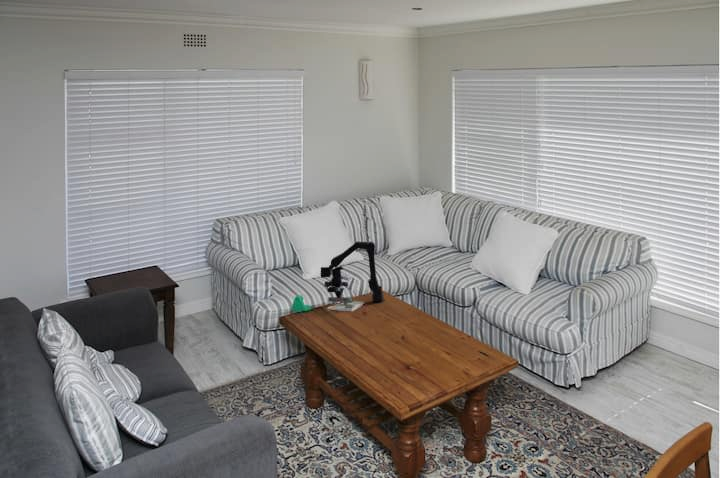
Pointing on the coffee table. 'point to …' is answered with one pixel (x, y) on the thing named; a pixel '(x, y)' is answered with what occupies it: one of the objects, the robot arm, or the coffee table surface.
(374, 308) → the coffee table surface
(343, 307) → the levelling board
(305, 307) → the green irregular lump
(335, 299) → the footscrew knob
